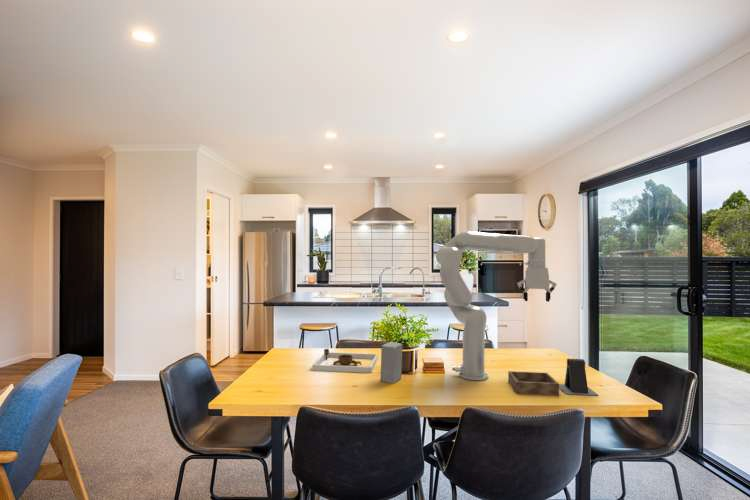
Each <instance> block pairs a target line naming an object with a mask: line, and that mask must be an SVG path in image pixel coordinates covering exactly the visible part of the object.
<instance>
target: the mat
mask: <svg viewBox="0 0 750 500" xmlns="http://www.w3.org/2000/svg"><path fill="white" fill-rule="evenodd" d="M559 390H560V391H561V392H562V393H563V394H565V395H566V394H567V395H569V396H587V397H588V396H590V397H592V396H593V397H599V394H598V393H597V392H595V391H594V390H593V389H592V388H590V387H589V386H588V393H578V392H571V391H570V390H569V389H568V388H567V387H566V386H565V383H559Z"/></svg>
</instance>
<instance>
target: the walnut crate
mask: <svg viewBox="0 0 750 500" xmlns="http://www.w3.org/2000/svg"><path fill="white" fill-rule="evenodd" d="M507 373H508V375H507V376H508V380H507V382H508V384H509V385H510V386H511V388H512V389H513V391H514V392H515V394H517V393H518V395H519V394H521V395H538V394H540V396H542V395H543V396H560V388H559V384H560V383H559V381H557V380H556V379H555V378H553V376H551V375H550V374H549V372H537V371H534V372H533V371H511V370H510V371H508V372H507Z"/></svg>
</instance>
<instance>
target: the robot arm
mask: <svg viewBox="0 0 750 500" xmlns="http://www.w3.org/2000/svg"><path fill="white" fill-rule="evenodd" d="M465 251H479V252H488V253H508V252H509V253H511V252H512V253H515V254H527V261H524V265H525V266H527V267H526V270H525V275H524V276H525V277H524V279H523V280H520V281H519V282H516V284H517V286H518V288H519V289H520V290H521V291H522V294H523V296H522V297H523V298H522V299H523V300H524V301H525V302H528V301H529V299H528V297H529V296H528V294H529V293H528V291H529V289H530V290H544V291H545V301H546V302H550V300H551V293H552V292H553V291H554V290H555V288H556V286H557V285H558V284H557V283H556V282H555V281H552V280H551V279H550V275H549V269H548V267H546V239H545V238H544V237H534V236H528V235H527V236H526V235H520V234H519V235H517V234H504V233H495V232H494V233H493V232H482V231H471V230H470V231H463V232H459V233H457V234H456V235H455V236H453V237H452V238H451V239H450V240H449V241H447V242H446V243H445V244H443V246H441V247H440V248H438V250H437V252H436V255H435V259H436V262H437V263H438V264H440V269H439V273H440V274H439V276H440V280H441V281H442V284H443V286H444V287H445V289H444V293H443V295H444V296H443V297H444V300H445V303H446V304H447V306H448V307H449V309H450V311H451V312H452V315H454V317H455V319H456V320H457V321H458V322H459V323H461V324H463V325H464V326H463V331H462V364H461V365H459V366H452V368H451V370H452V371H453V372H456V373H458V376H459V377H460V378H461V379H464V380H468V381H485V380H487V379H489V374H488V373H487V372H485V332H486V325H487V313H486V311H484V309H483V308H482V307H481V306H480V307H479V306H478V305H474V304H471V303H472V301H473V294H472V293H471V290H470V289H469V287H468V285H467V284H466V282H465V281H464V279H463V277H462V275H461V272H460V265H461V263H462V260H463V254H462V253H463V252H465ZM523 284H524V287H523ZM550 284H551V287H550Z"/></svg>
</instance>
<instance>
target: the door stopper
mask: <svg viewBox="0 0 750 500" xmlns="http://www.w3.org/2000/svg"><path fill="white" fill-rule="evenodd" d="M565 372H566V373H565V379H564V384H565V386H566V387H567V388H568V389H569V390H570V391H571V392H578V393H588V387H589V386H588V379H587V373H586V372H587V371H586V361H585V359H583V358H567V359H566V371H565Z"/></svg>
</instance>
